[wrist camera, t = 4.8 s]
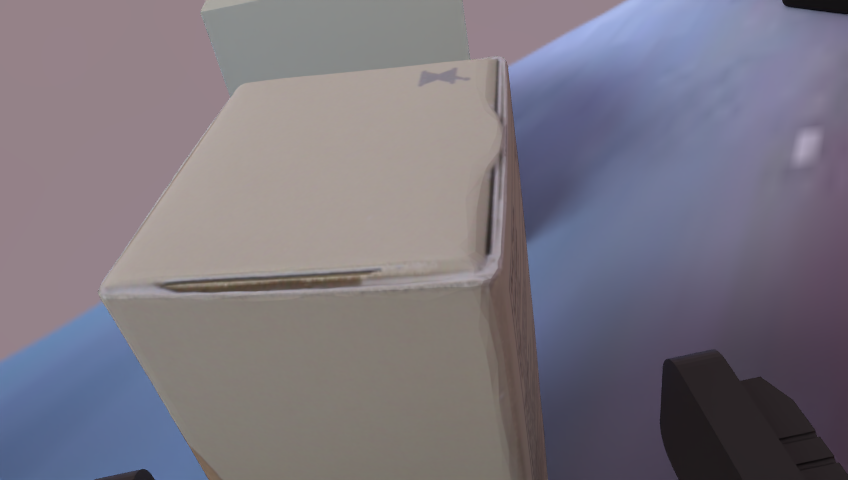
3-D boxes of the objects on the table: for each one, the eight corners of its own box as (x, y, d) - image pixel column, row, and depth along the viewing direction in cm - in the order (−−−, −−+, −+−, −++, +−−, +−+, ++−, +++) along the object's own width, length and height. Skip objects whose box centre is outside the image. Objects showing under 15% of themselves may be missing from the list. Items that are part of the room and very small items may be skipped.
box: (379, 483, 18) (240, 69, 11) (554, 484, 17) (513, 38, 10) (333, 724, 14) (72, 286, 7) (562, 740, 13) (503, 262, 6)
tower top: (256, 171, 22) (200, 11, 19) (271, 82, 27) (229, -51, 25) (479, 127, 22) (456, -40, 19) (447, 47, 27) (427, -91, 24)
